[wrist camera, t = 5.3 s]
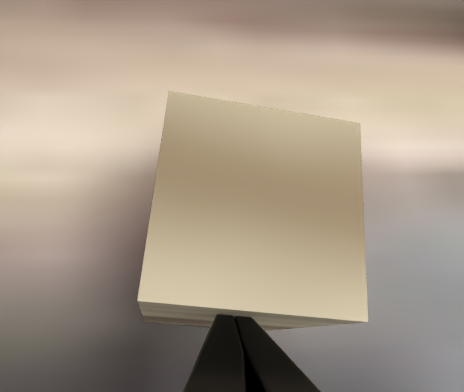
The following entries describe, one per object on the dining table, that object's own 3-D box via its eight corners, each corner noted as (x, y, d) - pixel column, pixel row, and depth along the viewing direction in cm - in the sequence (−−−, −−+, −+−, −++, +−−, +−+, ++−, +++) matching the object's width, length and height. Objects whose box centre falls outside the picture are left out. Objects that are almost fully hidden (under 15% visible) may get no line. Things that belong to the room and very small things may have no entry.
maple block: (257, 331, 16) (367, 321, 8) (144, 321, 16) (137, 301, 7) (263, 223, 18) (360, 123, 10) (160, 211, 17) (168, 90, 9)
